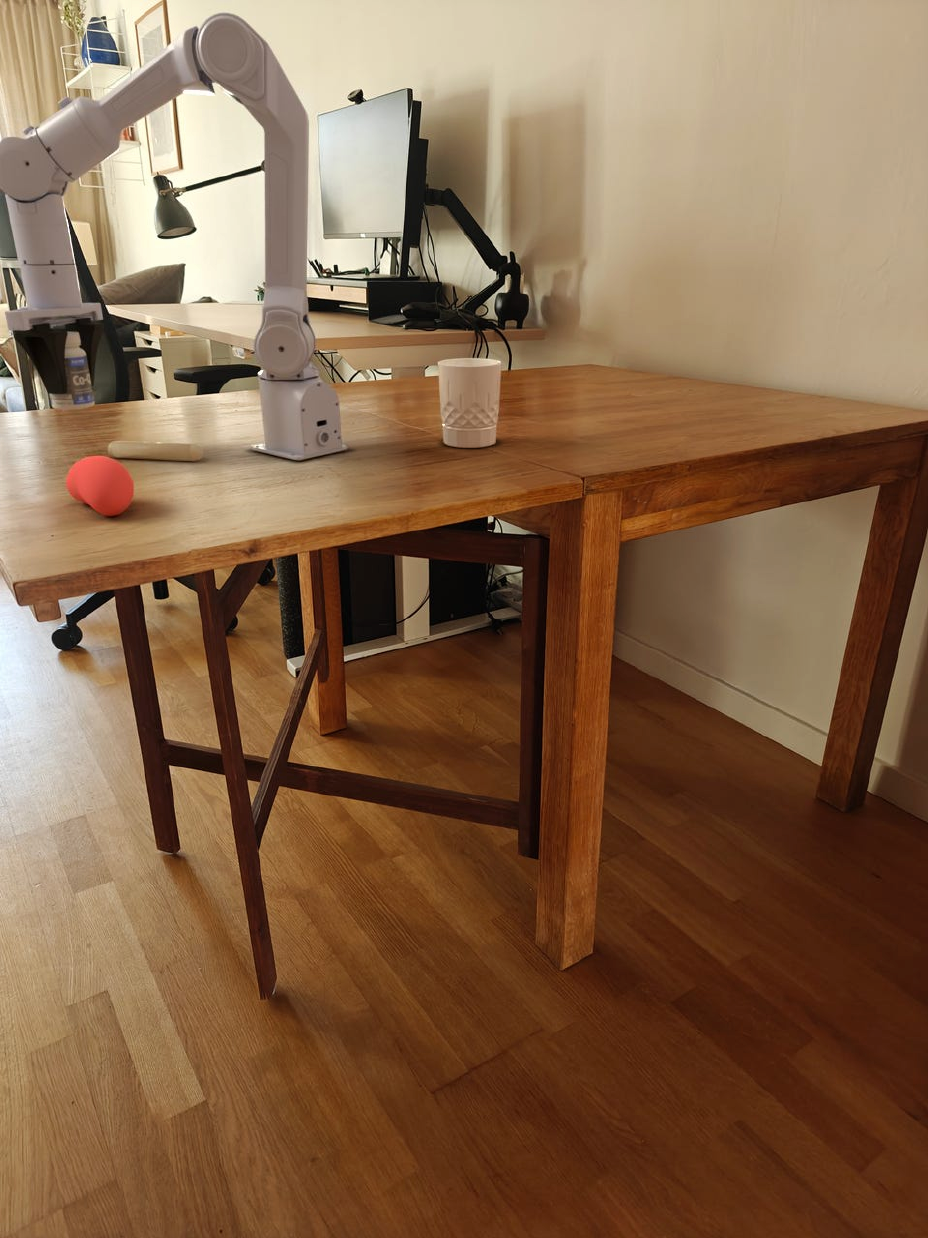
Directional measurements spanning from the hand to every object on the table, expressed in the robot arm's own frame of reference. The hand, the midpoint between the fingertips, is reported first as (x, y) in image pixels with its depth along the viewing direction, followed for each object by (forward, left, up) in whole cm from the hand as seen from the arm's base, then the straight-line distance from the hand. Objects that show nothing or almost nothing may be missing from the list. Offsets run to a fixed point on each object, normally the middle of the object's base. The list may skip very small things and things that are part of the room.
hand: (71, 389), depth 98 cm
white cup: (-32, -35, -8) cm, 48 cm away
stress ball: (-24, +10, -8) cm, 27 cm away
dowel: (-9, -5, -8) cm, 13 cm away
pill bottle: (0, 0, -2) cm, 2 cm away
